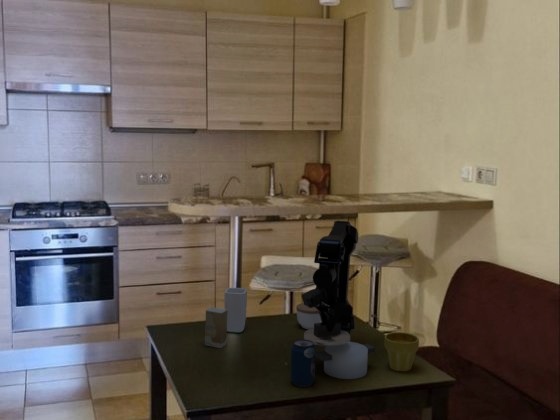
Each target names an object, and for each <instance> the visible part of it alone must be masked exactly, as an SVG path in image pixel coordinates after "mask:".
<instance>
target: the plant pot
mask: <svg viewBox="0 0 560 420" xmlns="http://www.w3.org/2000/svg"><path fill="white" fill-rule="evenodd" d="M383 345H384V348H385V349H386V354H387V358H388V359H387V360H388V365H389V369H391V370H393V371H397V372H408V371H410V370H411V369H413V368H412V367H413V363H414V360H415V357H416V353H417V351H418V350H419V346H420V338H419V337H418V336H417V335H415V334H413V333H409V332H406V331H405V332H403V331H393V332H388V333H386V334H385V335H384V344H383Z"/></svg>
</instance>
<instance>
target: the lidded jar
mask: <svg viewBox="0 0 560 420" xmlns="http://www.w3.org/2000/svg"><path fill="white" fill-rule="evenodd" d="M295 307H296V319H297V322H298V323H299V325H300V326H301V328H303V329H306V330H309V329H312V328H314V324H315V323H322V321H321V318H320V314H319V311H318V310H317V309H316V308H315V307H313V308H309V307H308V306H306V305H304V303H303V302H301V303H299V304H297V305H296V306H295Z"/></svg>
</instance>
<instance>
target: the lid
mask: <svg viewBox="0 0 560 420" xmlns="http://www.w3.org/2000/svg"><path fill="white" fill-rule="evenodd" d="M303 339H305V340H310V341H312V342H313V343H314V346H321V347H325V346H340V345H344V344H347V343H348V342H349V341H350V342H351V333H350V334H349V333H348V332H346V331H344V330H341V323H340V322H339V321H337V323H336V324H335V326H334V328H333V330H332V332H328V327H327V322H322V323H315V324H314V328H312V329H306V331H304V333H303Z"/></svg>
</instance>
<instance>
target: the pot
mask: <svg viewBox="0 0 560 420" xmlns="http://www.w3.org/2000/svg"><path fill="white" fill-rule="evenodd" d="M373 353H376V347H374V346H373V345H371V344H369V343H365V344H363V343H362V344H361V343H359V342H354V341H350V342H348V343H347V344H344V345H340V346H324V350H323V351H317V352H316V351H315V358H317V359H319V360H321V361H322V362H323V371H324V373H325V374H326V375H328V376H330V377H333V378H336V379H343V380H355V379H360V378H362V377H365V376H366V375H367V373H368V358H369V357H368V354H373Z"/></svg>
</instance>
